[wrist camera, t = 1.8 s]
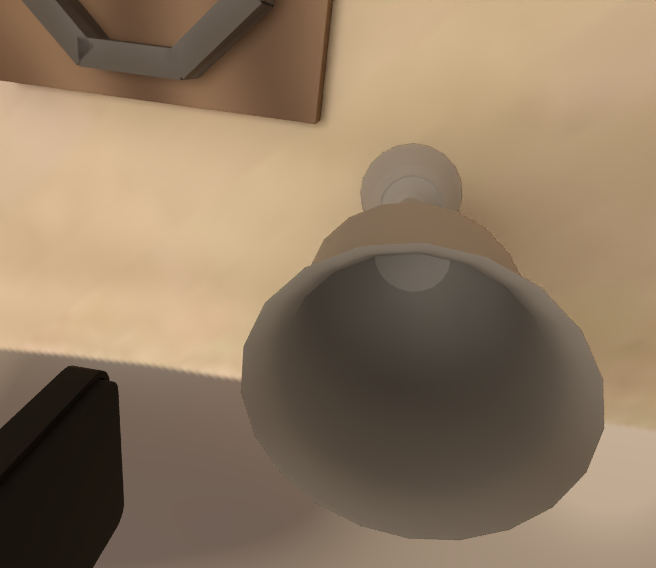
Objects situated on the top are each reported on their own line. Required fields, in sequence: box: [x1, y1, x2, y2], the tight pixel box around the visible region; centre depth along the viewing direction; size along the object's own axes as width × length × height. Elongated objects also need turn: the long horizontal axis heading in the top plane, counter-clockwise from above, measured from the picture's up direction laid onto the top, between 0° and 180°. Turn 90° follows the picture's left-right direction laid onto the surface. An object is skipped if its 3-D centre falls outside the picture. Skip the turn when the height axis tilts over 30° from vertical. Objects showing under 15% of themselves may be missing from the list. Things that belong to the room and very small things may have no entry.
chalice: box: [241, 144, 604, 540], centre depth 19 cm, size 7×7×18 cm
